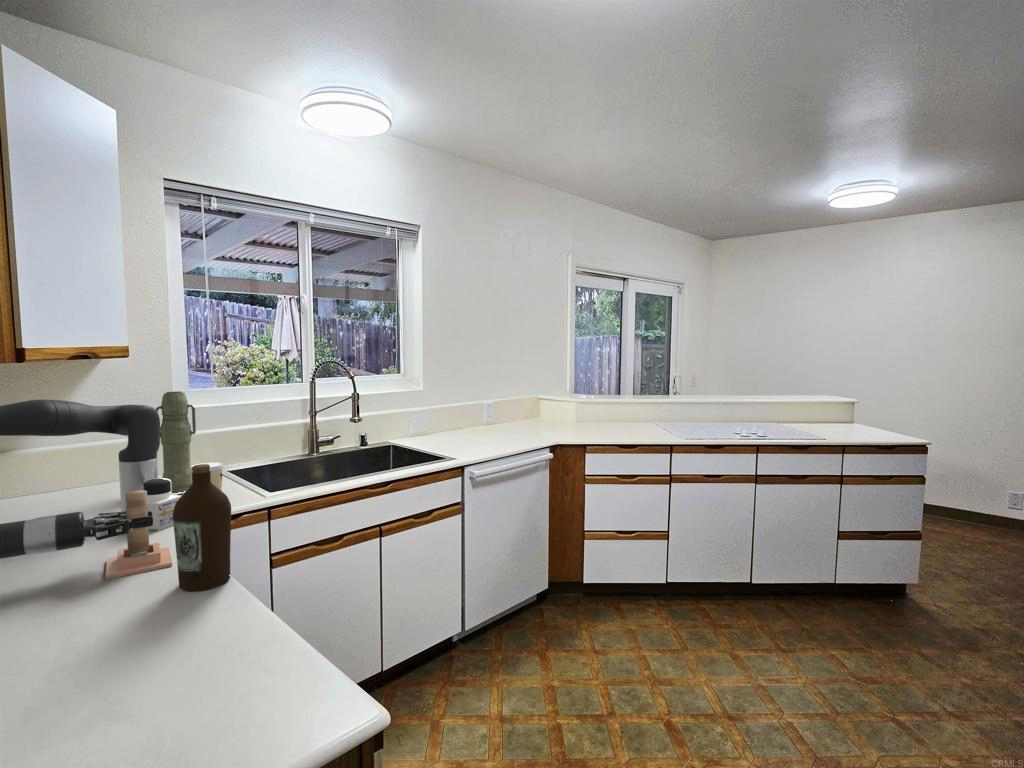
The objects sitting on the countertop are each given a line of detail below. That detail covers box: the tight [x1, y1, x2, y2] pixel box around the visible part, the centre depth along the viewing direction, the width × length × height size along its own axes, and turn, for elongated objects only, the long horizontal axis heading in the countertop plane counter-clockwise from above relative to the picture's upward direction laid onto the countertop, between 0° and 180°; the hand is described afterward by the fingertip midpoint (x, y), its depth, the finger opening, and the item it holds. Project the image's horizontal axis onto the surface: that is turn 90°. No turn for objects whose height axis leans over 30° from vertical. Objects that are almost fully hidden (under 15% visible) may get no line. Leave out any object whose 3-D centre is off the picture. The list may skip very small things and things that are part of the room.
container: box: [143, 477, 181, 531], centre depth 148 cm, size 8×8×13 cm
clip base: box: [105, 541, 173, 580], centre depth 121 cm, size 12×12×4 cm
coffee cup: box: [190, 461, 224, 492], centre depth 171 cm, size 9×9×12 cm
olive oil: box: [172, 463, 232, 592], centre depth 111 cm, size 11×11×25 cm
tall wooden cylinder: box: [126, 490, 150, 557], centre depth 120 cm, size 4×4×15 cm
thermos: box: [154, 391, 197, 493], centre depth 182 cm, size 9×12×35 cm
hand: (152, 518), depth 122 cm, fingers closed on tall wooden cylinder, 3 cm apart
